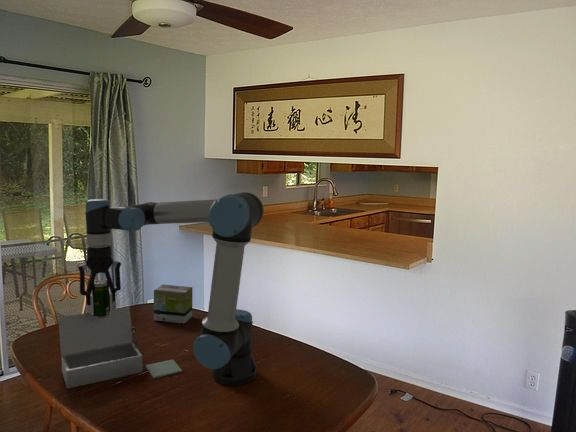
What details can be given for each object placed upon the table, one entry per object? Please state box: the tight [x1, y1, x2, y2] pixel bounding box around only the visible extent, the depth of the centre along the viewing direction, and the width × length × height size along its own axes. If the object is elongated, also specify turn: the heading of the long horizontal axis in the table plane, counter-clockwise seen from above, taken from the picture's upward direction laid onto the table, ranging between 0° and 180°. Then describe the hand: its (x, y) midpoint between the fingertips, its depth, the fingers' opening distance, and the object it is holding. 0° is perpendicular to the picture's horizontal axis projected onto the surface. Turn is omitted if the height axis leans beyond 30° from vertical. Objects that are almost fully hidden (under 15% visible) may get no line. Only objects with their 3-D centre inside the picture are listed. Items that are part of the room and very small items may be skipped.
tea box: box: [153, 283, 193, 325], centre depth 214 cm, size 15×10×15 cm
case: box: [58, 306, 143, 389], centre depth 163 cm, size 18×25×18 cm
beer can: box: [91, 279, 110, 319], centre depth 158 cm, size 5×5×12 cm
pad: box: [145, 359, 183, 380], centre depth 165 cm, size 10×10×1 cm
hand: (101, 312), depth 159 cm, fingers closed on beer can, 5 cm apart
